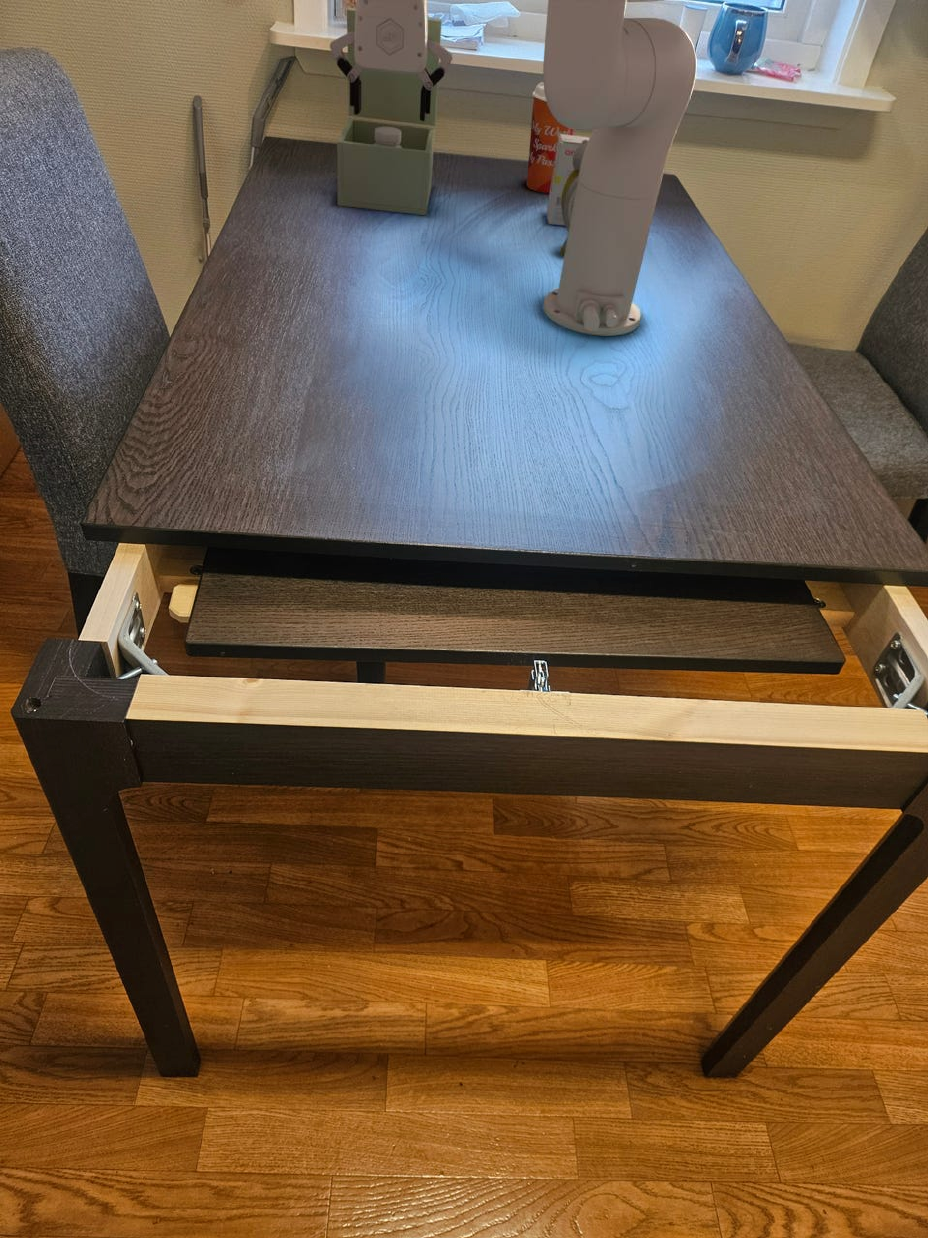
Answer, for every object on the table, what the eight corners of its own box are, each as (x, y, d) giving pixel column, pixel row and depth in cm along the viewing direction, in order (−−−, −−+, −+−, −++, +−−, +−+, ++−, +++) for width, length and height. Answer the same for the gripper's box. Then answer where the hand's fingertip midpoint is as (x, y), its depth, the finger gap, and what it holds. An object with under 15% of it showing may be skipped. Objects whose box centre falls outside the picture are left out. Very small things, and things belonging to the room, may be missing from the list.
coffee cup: (514, 188, 144) (528, 87, 133) (526, 176, 149) (540, 77, 139) (562, 198, 142) (580, 96, 132) (572, 185, 148) (589, 86, 138)
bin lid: (441, 21, 121) (443, 5, 125) (346, 9, 121) (351, -7, 124) (435, 125, 133) (437, 108, 137) (348, 115, 133) (353, 98, 136)
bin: (426, 215, 130) (430, 152, 124) (337, 205, 129) (337, 141, 123) (431, 187, 140) (435, 127, 134) (348, 177, 139) (349, 117, 133)
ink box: (598, 219, 137) (614, 137, 128) (601, 230, 133) (618, 147, 125) (545, 213, 136) (558, 131, 128) (547, 224, 132) (560, 140, 124)
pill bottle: (364, 187, 134) (365, 124, 128) (395, 186, 136) (397, 124, 130) (376, 199, 131) (378, 135, 124) (407, 197, 132) (411, 134, 126)
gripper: (324, -34, 110) (327, 115, 122) (456, -20, 111) (447, 127, 122) (332, -39, 116) (335, 104, 127) (458, -26, 116) (449, 115, 128)
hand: (390, 115), depth 125 cm, fingers open, 9 cm apart
